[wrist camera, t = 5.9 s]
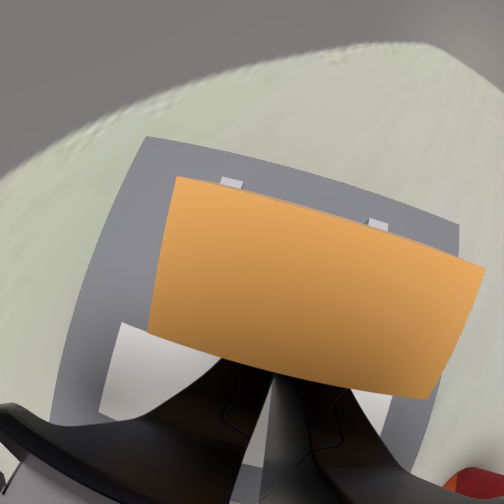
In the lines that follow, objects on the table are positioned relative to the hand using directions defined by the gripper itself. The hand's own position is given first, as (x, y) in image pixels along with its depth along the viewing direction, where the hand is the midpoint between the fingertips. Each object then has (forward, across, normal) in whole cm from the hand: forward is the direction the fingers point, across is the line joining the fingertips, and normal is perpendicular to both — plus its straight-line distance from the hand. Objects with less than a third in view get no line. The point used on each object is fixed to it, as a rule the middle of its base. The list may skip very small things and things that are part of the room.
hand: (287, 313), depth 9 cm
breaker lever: (+6, 0, 0) cm, 6 cm away
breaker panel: (+7, 0, +8) cm, 11 cm away
